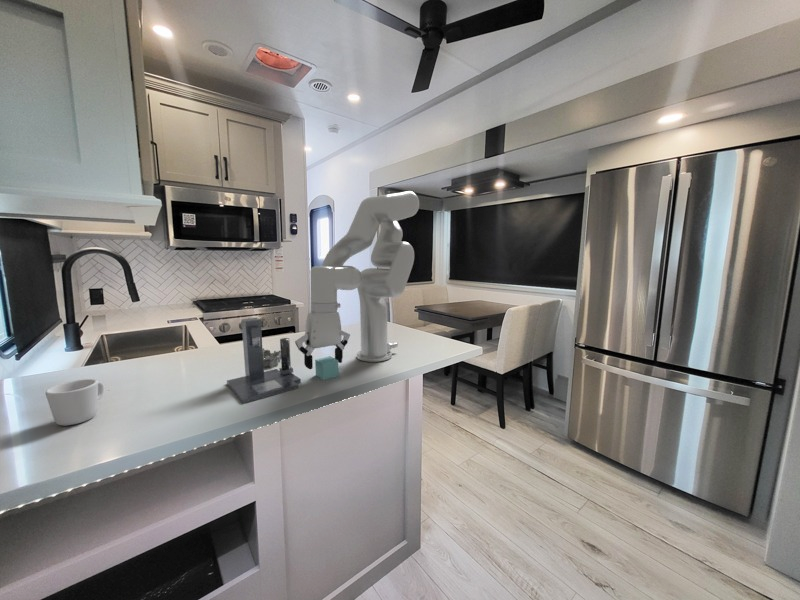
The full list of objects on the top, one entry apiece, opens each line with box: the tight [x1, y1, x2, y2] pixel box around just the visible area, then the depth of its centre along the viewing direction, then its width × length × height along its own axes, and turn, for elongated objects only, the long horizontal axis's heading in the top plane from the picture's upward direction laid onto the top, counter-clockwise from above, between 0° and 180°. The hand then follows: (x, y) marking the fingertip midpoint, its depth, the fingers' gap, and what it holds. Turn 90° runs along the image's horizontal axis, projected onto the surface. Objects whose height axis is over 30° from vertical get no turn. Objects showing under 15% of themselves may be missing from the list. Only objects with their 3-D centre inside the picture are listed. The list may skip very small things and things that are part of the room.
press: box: [226, 317, 302, 404], centre depth 87 cm, size 16×16×18 cm
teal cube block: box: [314, 356, 340, 381], centre depth 95 cm, size 5×5×5 cm
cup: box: [45, 378, 104, 427], centre depth 71 cm, size 11×8×8 cm
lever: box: [278, 337, 294, 375], centre depth 94 cm, size 3×3×10 cm
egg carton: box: [262, 347, 281, 368], centre depth 107 cm, size 11×8×4 cm
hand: (324, 364), depth 94 cm, fingers open, 9 cm apart
